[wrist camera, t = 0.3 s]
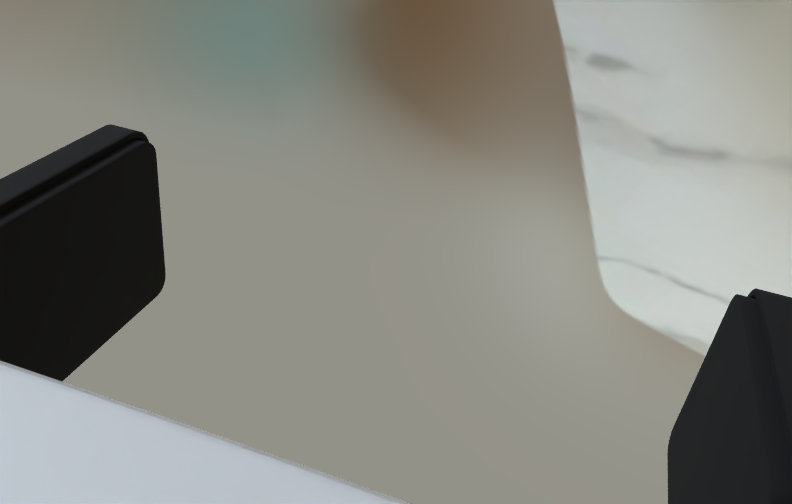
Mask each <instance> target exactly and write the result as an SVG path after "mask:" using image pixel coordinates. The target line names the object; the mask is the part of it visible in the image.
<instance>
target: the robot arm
mask: <svg viewBox="0 0 792 504" xmlns="http://www.w3.org/2000/svg"><path fill="white" fill-rule="evenodd" d="M164 263H165V262H164V249H163V237H162V223H161V211H160V198H159V186H158V173H157V159H156V152H155V148H154V146H153V145H152V144H151V143H149V141H148V139H147V137H146V135H145V134H143V133H142V132H139V131H135V130H131V129H127V128H123V127H119V126H115V125H107V126H104V127H102V128H100V129H98V130H96V131H94V132H92V133H90V134H88V135H86V136H84V137H82V138H80V139H78V140H76V141H74V142H72V143H71V144H69V145H67V146H65V147H63V148H61V149H59V150H57V151H55V152H53V153H51V154H49V155H47V156H45V157H43V158H41V159H39V160H37V161H35V162H33V163H32V164H30V165H27V166H25V167H24V168H21V169H19V170H18V171H16V172H14V173H12V174H10V175H8V176H6V177H4V178H2V179H0V504H411V503H408V502H405V501H402V500H400V499H397V498H394V497H391V496H388V495H385V494H382V493H380V492H377V491H374V490H371V489H368V488H366V487H363V486H360V485H357V484H354V483H351V482H349V481H346V480H343V479H340V478H337V477H335V476H332V475H329V474H326V473H323V472H321V471H318V470H315V469H312V468H309V467H307V466H304V465H301V464H298V463H295V462H292V461H289V460H286V459H284V458H281V457H278V456H275V455H272V454H269V453H266V452H264V451H261V450H258V449H255V448H252V447H249V446H246V445H243V444H241V443H238V442H235V441H232V440H229V439H226V438H224V437H221V436H218V435H215V434H212V433H209V432H206V431H203V430H201V429H198V428H195V427H192V426H189V425H186V424H183V423H180V422H178V421H175V420H172V419H169V418H166V417H163V416H160V415H157V414H155V413H152V412H149V411H146V410H143V409H140V408H137V407H134V406H132V405H129V404H126V403H123V402H120V401H117V400H114V399H111V398H108V397H106V396H103V395H100V394H97V393H94V392H91V391H88V390H85V389H82V388H79V387H76V386H73V385H70V384H67V383H65V382H62V381H63V380H64V379H65V378H66V377H68V375H70V374H71V373H72V372H73V371H74V370H75V369H76V368H77V367H79V366H80V365H81V364H82V363H83V362H84V361H85V360H86V359H88V358H89V357H90V356H91V355H92V354H93V353H94V352H95V351H96V350H98V349H99V348H100V347H101V346H102V345H103V344H104V343H105V342H106V341H108V340H109V339H110V338H111V337H112V336H113V335H114V334H115V333H116V332H118V330H120V329H121V328H122V327H123V326H124V325H125V324H126V323H127V322H129V321H130V320H131V319H132V318H133V317H134V316H135V315H136V314H138V313H139V312H140V311H141V310H142V309H143V308H144V307H145V306H146V305H148V304H149V303H150V302H151V301H152V300H153V299H154V298H155V297H156V296H157V295H158V294H159V293H160V292H161V290H162V288H163V285H164V282H165V264H164ZM668 504H792V298H791V297H787V296H783V295H779V294H775V293H771V292H767V291H763V290H759V289H754V290H752V291H751V292H750V294H749V295H748V297H746V296H742V295H738V294H737V295H735V296H734V297H733V299H732V300H731V302H730V304H729V306H728V309H727V311H726V313H725V315H724V317H723V320H722V322H721V324H720V326H719V328H718V331H717V333H716V335H715V337H714V339H713V342H712V344H711V346H710V348H709V350H708V352H707V355H706V357H705V359H704V362H703V363H702V366H701V368H700V370H699V372H698V375H697V377H696V379H695V381H694V383H693V385H692V388H691V390H690V392H689V394H688V396H687V398H686V401H685V403H684V405H683V408H682V409H681V412H680V414H679V416H678V418H677V421H676V423H675V425H674V427H673V430H672V432H671V436H670V440H669V445H668Z"/></svg>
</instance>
